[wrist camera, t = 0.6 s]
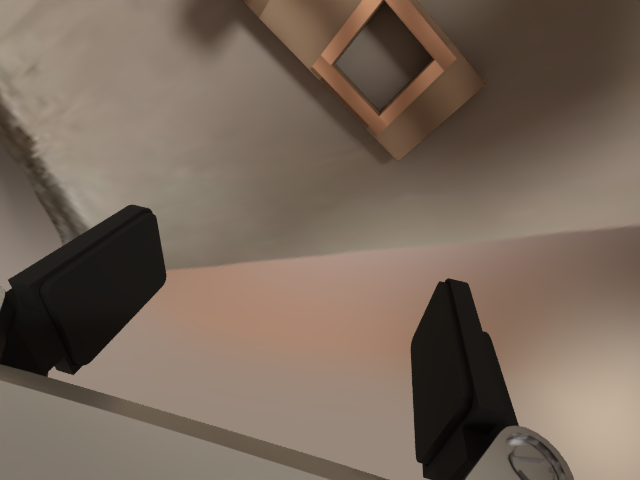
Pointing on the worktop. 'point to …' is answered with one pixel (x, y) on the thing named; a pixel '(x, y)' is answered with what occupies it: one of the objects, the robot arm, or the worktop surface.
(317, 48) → the tan flat board
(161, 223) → the worktop surface
